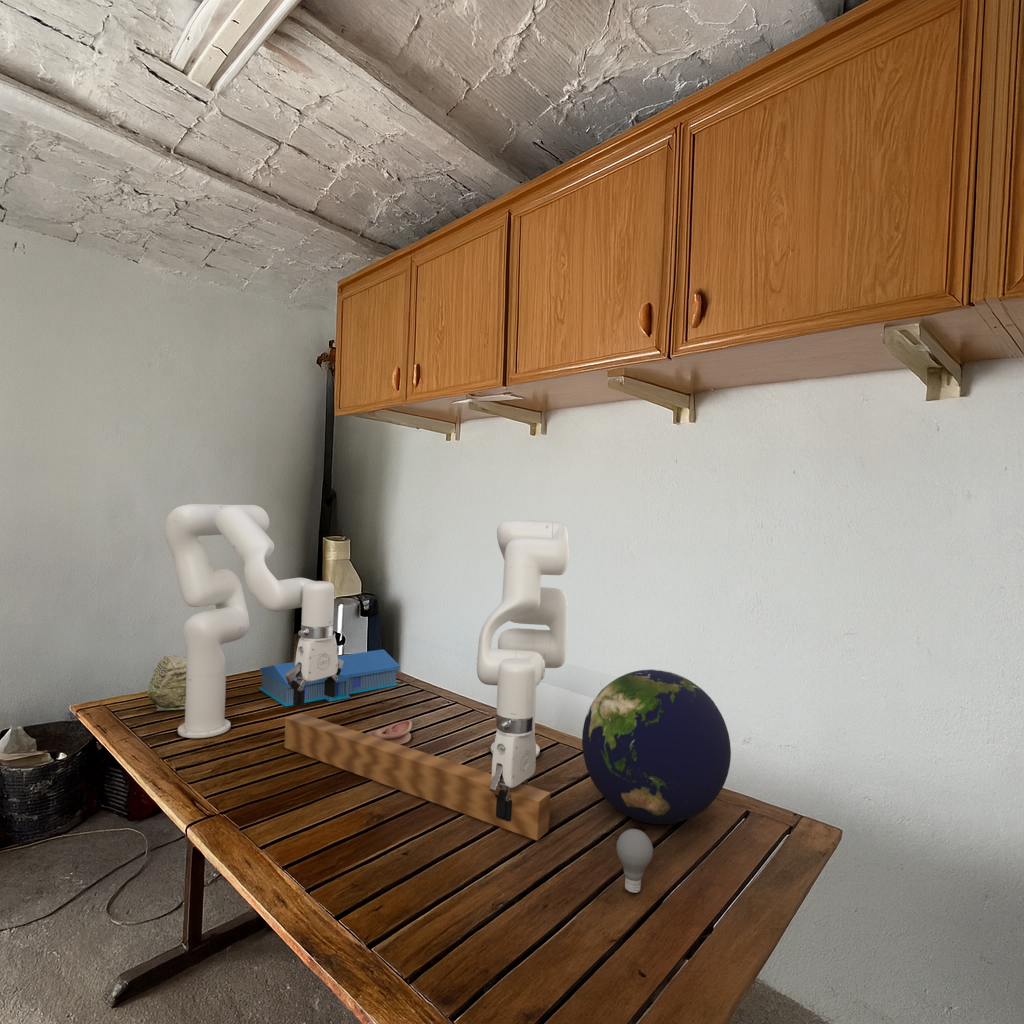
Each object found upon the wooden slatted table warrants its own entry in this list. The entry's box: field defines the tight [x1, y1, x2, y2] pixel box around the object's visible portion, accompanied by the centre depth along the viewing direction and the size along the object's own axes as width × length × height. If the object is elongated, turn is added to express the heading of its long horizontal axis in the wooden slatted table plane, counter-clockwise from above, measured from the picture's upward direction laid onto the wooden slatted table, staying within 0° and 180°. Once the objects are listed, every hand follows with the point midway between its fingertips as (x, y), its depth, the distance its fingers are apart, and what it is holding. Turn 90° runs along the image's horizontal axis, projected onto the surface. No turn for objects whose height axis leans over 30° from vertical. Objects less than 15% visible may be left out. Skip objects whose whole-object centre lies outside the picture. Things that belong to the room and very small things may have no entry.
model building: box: [258, 649, 401, 707], centre depth 208 cm, size 39×24×10 cm, turn 132°
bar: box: [284, 712, 552, 841], centre depth 141 cm, size 73×5×8 cm, turn 58°
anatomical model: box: [364, 719, 413, 745], centre depth 166 cm, size 13×4×12 cm
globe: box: [581, 668, 732, 825], centre depth 131 cm, size 30×30×30 cm
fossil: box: [147, 654, 187, 712], centre depth 185 cm, size 9×18×15 cm, turn 132°
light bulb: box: [615, 828, 654, 894], centre depth 106 cm, size 6×6×10 cm
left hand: (314, 700), depth 156 cm, fingers open, 9 cm apart
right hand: (510, 812), depth 126 cm, fingers closed on bar, 4 cm apart
